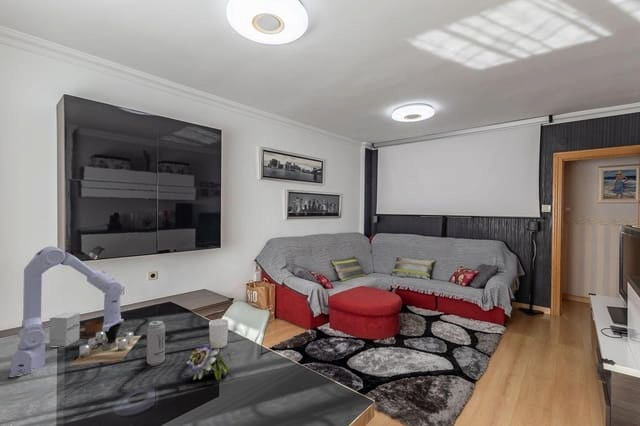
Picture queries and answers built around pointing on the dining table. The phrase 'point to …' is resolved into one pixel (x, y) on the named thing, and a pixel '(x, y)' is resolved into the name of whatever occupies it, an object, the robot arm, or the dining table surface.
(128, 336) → the spacers
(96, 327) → the cup and saucer
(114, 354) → the board
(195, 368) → the passion flower
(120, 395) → the dining table surface
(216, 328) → the white cup
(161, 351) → the energy drink can
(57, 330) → the supplement box
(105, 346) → the nut
